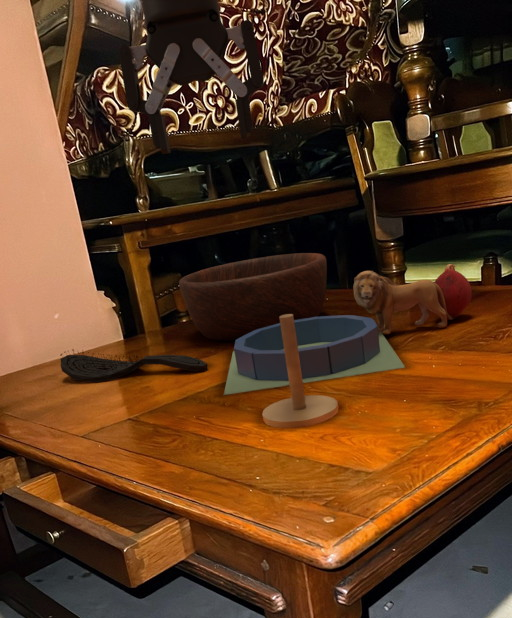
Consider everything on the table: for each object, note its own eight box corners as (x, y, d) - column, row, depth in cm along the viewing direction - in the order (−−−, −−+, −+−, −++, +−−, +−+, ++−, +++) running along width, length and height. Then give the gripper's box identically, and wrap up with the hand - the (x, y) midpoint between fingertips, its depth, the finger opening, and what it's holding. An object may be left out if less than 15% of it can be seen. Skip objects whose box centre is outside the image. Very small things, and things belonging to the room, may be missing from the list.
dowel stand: (335, 401, 77) (323, 302, 73) (342, 425, 69) (329, 317, 65) (264, 411, 77) (248, 314, 73) (263, 437, 70) (245, 330, 66)
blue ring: (368, 332, 101) (366, 308, 100) (388, 365, 84) (385, 337, 83) (242, 352, 103) (237, 329, 101) (235, 389, 85) (230, 361, 84)
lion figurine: (362, 340, 97) (358, 275, 93) (350, 333, 101) (346, 270, 98) (460, 325, 99) (461, 261, 95) (444, 319, 103) (444, 257, 100)
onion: (467, 323, 99) (464, 266, 96) (427, 325, 102) (423, 270, 99) (476, 313, 104) (474, 259, 101) (438, 315, 107) (435, 262, 104)
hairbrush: (189, 359, 94) (45, 358, 104) (193, 385, 95) (51, 381, 106) (217, 343, 101) (79, 343, 111) (220, 367, 102) (84, 366, 113)
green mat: (379, 332, 103) (378, 328, 103) (405, 371, 82) (405, 367, 82) (233, 354, 105) (232, 351, 104) (224, 399, 84) (223, 394, 84)
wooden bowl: (162, 341, 122) (149, 283, 118) (267, 307, 136) (259, 254, 132) (252, 352, 104) (241, 284, 100) (363, 312, 118) (357, 250, 114)
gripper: (246, -37, 71) (271, 135, 77) (111, -10, 72) (146, 158, 78) (243, -60, 64) (271, 132, 70) (94, -29, 65) (133, 157, 71)
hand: (205, 146), depth 74 cm, fingers open, 8 cm apart
